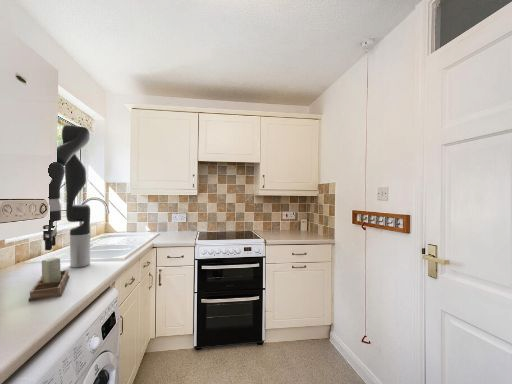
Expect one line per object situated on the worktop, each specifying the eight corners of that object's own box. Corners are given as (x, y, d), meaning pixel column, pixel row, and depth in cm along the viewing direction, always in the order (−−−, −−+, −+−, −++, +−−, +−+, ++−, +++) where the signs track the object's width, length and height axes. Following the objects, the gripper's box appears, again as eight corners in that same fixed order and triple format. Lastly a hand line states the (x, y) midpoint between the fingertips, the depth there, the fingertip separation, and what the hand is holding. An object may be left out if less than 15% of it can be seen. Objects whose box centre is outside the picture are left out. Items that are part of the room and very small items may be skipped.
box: (55, 282, 117) (54, 257, 117) (61, 283, 115) (61, 258, 115) (41, 286, 112) (41, 260, 112) (47, 287, 110) (47, 261, 110)
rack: (42, 280, 122) (42, 273, 122) (69, 277, 127) (69, 269, 127) (28, 301, 100) (28, 292, 100) (61, 296, 105) (61, 287, 105)
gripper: (42, 208, 117) (42, 245, 118) (34, 211, 105) (35, 252, 105) (63, 208, 121) (63, 243, 121) (58, 210, 108) (58, 250, 109)
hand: (50, 247), depth 113 cm, fingers open, 8 cm apart
